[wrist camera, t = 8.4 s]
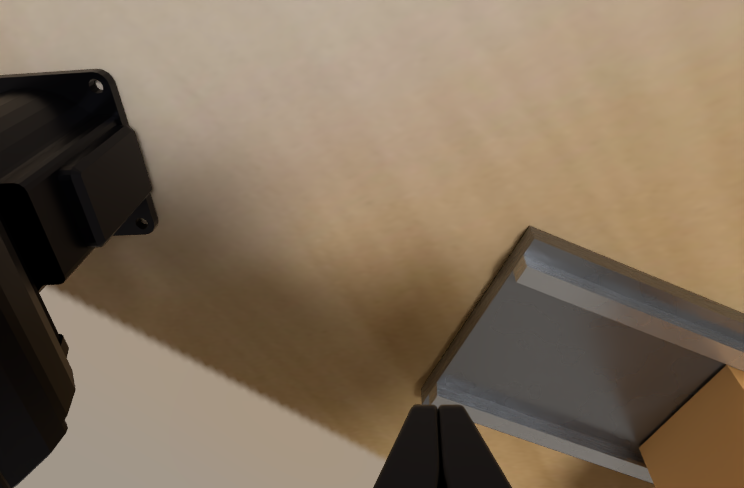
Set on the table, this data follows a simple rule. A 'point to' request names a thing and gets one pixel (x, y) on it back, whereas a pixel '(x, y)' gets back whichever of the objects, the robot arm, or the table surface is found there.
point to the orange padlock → (702, 438)
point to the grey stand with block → (583, 353)
